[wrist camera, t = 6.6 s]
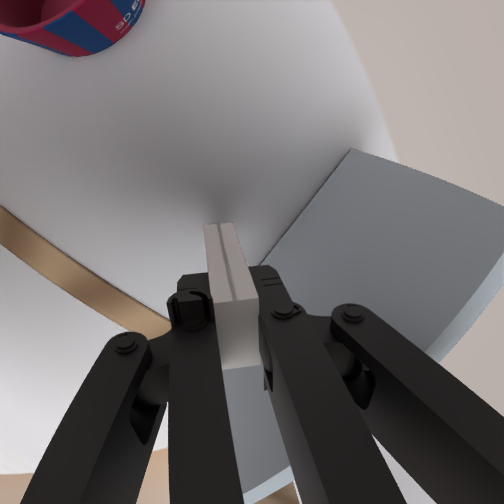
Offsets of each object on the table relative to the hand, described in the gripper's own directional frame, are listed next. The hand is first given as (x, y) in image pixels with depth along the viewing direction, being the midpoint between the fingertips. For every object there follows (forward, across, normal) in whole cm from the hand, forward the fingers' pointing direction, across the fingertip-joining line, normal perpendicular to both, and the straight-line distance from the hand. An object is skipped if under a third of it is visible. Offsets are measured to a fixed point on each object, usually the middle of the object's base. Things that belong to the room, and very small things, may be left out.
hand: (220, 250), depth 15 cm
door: (+4, +4, -3) cm, 6 cm away
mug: (+5, -8, +15) cm, 17 cm away
